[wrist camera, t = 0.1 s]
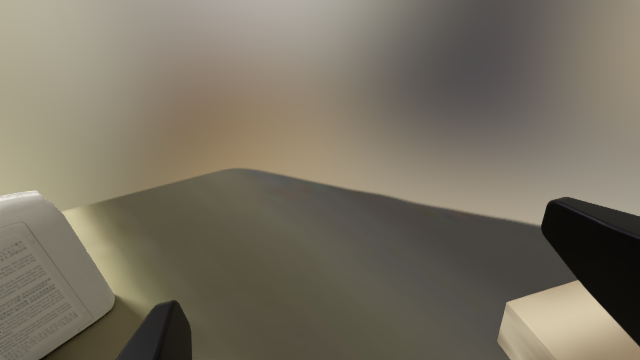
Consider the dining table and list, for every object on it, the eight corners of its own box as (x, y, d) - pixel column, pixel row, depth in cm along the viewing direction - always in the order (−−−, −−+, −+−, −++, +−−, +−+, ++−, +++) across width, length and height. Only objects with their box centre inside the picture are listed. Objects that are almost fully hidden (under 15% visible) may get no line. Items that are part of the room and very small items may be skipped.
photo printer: (106, 283, 32) (31, 169, 26) (125, 305, 30) (47, 186, 23) (-32, 371, 26) (-178, 252, 20) (-24, 409, 23) (-189, 286, 17)
